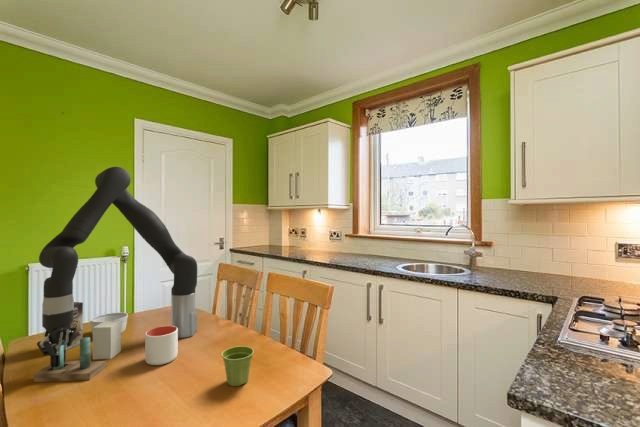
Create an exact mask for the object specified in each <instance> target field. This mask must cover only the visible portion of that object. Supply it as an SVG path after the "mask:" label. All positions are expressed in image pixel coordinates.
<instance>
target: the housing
mask: <svg viewBox="0 0 640 427" xmlns="http://www.w3.org/2000/svg"><path fill="white" fill-rule="evenodd" d="M121 338H122V333H121V321H111V322H102V323H100V324H99V325H97V326H95V327H93V334H92V360H111V359H113V358H114V357H115V356H116V355H118V354H119V353H121V352H122V348H121V347H122V339H121Z"/></svg>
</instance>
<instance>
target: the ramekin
mask: <svg viewBox="0 0 640 427" xmlns="http://www.w3.org/2000/svg"><path fill="white" fill-rule="evenodd" d="M128 318H129V315H128V313H127V312H110V313H103V314H99V315H96V316H94V317H92V318H90V320H89V321H90V327H91V333H92V335H93V327H95V326H97V325H99V324H100V323H102V322H111V321H121V334H122V333H124V332H125V330H126V328H127V325H128V324H127V323H128Z"/></svg>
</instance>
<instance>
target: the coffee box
mask: <svg viewBox="0 0 640 427" xmlns="http://www.w3.org/2000/svg"><path fill="white" fill-rule="evenodd" d="M83 304H84V302H80V301H74V321H73V322H72V323H71V324H70V325H71V327H77V330H76V333H75V335H74V338H73V341H72V344H71V346H68V347H67V350H66V351H68V350H70V349H72V348H75V347H77V346H80V339H81V338H83V334H84V333H83V332H84V331H83V330H84V329H83V328H84V326H83V324H84V323H83V320H84V319H83V316H84V315H83V313H84V312H83V310H84V307H83V306H84V305H83Z"/></svg>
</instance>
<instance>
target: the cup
mask: <svg viewBox="0 0 640 427" xmlns="http://www.w3.org/2000/svg"><path fill="white" fill-rule="evenodd" d="M144 338H145V339H144V347H145V348H144V357H145V358H144V361H145V362H146V363H147V364H148V365H151V366H161V365H165V364H166V365H167V364H168V363H170V362H172V361H174V360H176V358H177V356H178V352H179V351H178V350H179V347H178V345H179V344H178V343H179V342H178V339H179V338H178V328H177V327H175V326H171V325H163V326H157V327H153V328H151V329H149V330H147V331H146V332H145V334H144Z"/></svg>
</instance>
